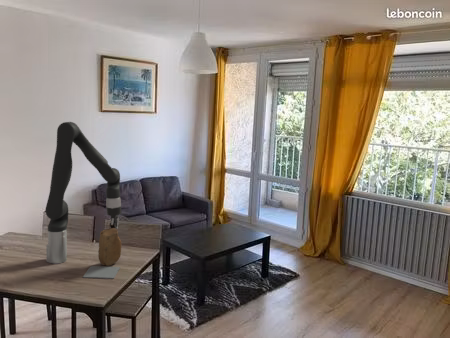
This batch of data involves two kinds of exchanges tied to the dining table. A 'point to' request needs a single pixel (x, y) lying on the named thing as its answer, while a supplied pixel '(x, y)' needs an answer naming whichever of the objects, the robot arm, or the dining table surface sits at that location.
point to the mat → (101, 272)
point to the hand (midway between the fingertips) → (115, 236)
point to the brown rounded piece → (109, 247)
